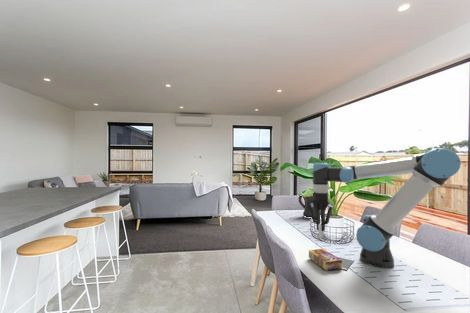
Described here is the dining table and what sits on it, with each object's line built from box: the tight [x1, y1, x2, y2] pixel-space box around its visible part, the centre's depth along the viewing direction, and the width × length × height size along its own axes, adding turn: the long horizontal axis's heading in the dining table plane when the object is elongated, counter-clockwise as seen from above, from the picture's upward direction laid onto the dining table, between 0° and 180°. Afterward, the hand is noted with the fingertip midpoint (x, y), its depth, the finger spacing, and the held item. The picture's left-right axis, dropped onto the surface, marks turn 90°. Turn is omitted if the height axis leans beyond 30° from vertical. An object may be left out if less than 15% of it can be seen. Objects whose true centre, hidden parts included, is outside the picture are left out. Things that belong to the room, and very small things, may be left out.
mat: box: [335, 255, 355, 272], centre depth 123 cm, size 14×14×1 cm
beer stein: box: [298, 195, 321, 217], centre depth 219 cm, size 16×19×25 cm
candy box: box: [308, 248, 342, 271], centre depth 121 cm, size 9×4×15 cm
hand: (320, 236), depth 128 cm, fingers closed
